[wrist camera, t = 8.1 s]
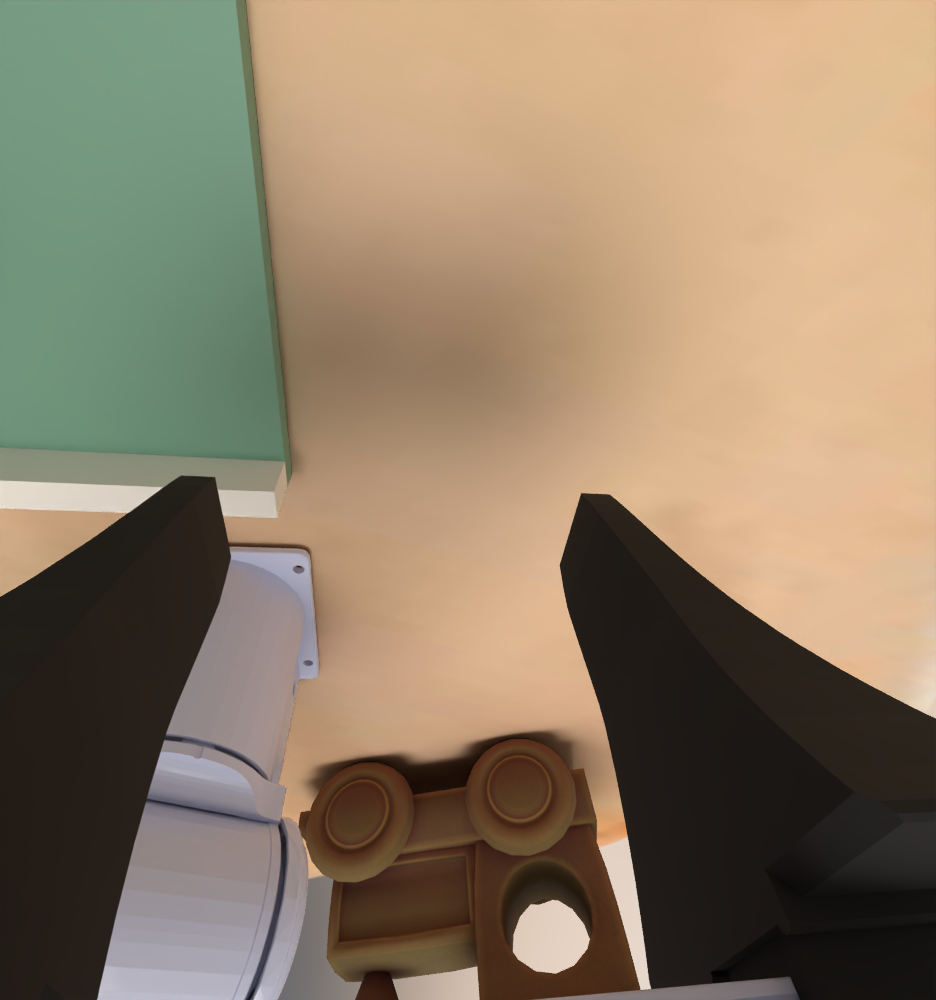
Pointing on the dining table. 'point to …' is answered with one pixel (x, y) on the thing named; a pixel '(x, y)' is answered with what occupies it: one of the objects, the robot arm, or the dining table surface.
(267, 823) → the robot arm
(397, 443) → the dining table surface
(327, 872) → the wooden toy train
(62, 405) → the pitch
